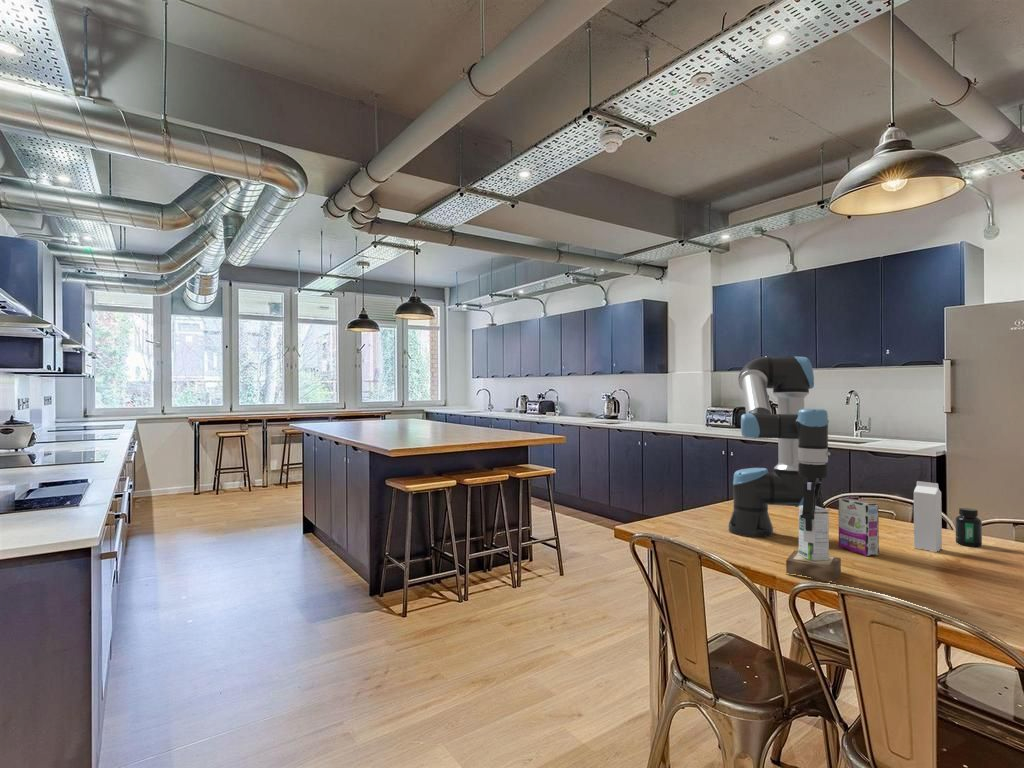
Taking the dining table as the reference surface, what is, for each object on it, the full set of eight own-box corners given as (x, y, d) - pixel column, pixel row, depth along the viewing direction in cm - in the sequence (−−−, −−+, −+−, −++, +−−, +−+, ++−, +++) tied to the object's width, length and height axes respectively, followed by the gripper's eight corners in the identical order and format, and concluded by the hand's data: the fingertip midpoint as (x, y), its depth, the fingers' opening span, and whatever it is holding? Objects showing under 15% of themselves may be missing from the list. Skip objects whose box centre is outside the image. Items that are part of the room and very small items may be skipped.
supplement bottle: (974, 548, 180) (973, 512, 180) (951, 543, 186) (950, 508, 186) (986, 546, 182) (986, 510, 182) (963, 541, 189) (963, 506, 189)
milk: (936, 553, 175) (935, 484, 175) (913, 548, 180) (913, 481, 180) (942, 549, 178) (941, 482, 179) (920, 545, 183) (919, 480, 183)
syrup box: (797, 555, 158) (797, 505, 158) (817, 554, 158) (816, 504, 158) (810, 561, 152) (809, 509, 152) (830, 560, 152) (829, 509, 153)
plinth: (786, 574, 154) (786, 559, 154) (794, 563, 163) (794, 549, 163) (835, 583, 147) (835, 567, 147) (840, 571, 156) (840, 556, 156)
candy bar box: (880, 555, 172) (879, 503, 172) (867, 556, 170) (867, 504, 171) (849, 546, 182) (849, 497, 183) (837, 547, 181) (837, 497, 181)
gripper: (821, 468, 143) (821, 549, 143) (834, 459, 163) (834, 530, 163) (789, 466, 148) (790, 544, 148) (806, 457, 168) (806, 526, 167)
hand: (813, 537), depth 155 cm, fingers open, 13 cm apart
